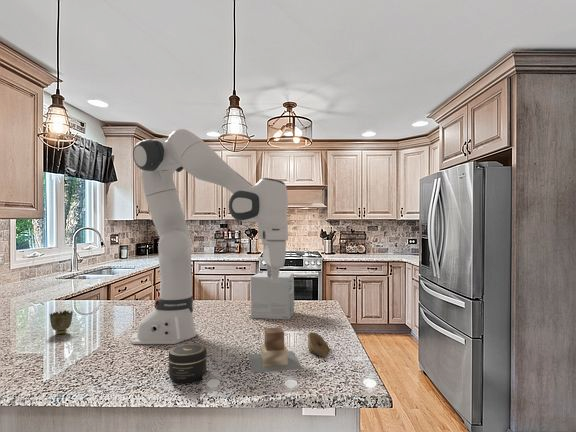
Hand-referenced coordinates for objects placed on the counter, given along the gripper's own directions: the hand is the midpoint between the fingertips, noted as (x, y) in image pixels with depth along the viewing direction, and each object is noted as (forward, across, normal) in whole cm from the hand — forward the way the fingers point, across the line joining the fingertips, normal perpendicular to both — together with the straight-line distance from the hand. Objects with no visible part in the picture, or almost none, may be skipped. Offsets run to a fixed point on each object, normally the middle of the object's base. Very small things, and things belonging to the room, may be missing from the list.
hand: (272, 279), depth 110 cm
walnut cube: (+19, +1, 0) cm, 19 cm away
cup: (+26, -44, -74) cm, 90 cm away
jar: (+25, +5, -24) cm, 35 cm away
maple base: (+23, +1, 0) cm, 23 cm away
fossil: (+24, -3, +15) cm, 29 cm away
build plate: (+24, +1, 0) cm, 24 cm away
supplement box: (+25, -55, +8) cm, 61 cm away
